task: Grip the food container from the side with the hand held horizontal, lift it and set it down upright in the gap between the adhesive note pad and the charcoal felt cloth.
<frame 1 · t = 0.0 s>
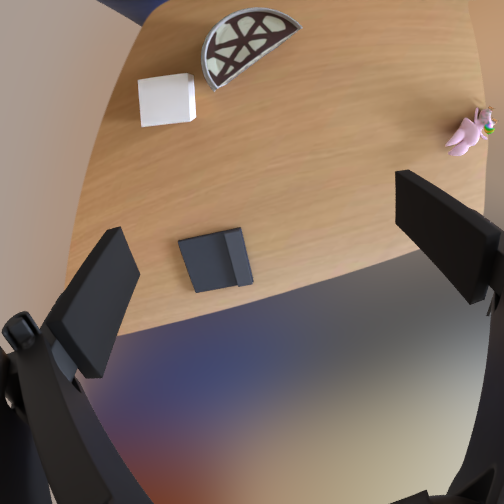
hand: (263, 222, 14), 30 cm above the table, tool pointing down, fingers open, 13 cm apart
food container: (238, 47, 34), on the table
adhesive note: (173, 98, 37), on the table
rabbit figure: (465, 127, 40), on the table
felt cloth: (216, 261, 50), on the table
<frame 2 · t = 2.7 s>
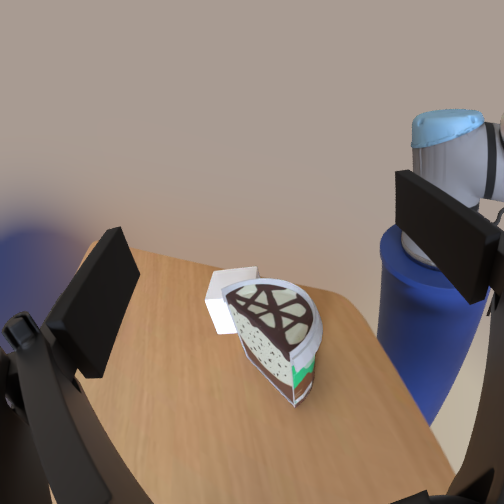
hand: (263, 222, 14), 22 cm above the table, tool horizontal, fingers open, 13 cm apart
food container: (291, 367, 33), on the table
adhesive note: (242, 317, 42), on the table
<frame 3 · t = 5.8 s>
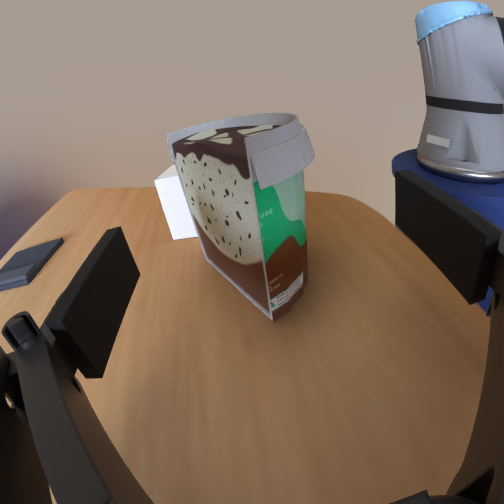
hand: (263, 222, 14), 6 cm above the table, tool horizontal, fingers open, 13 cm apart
food container: (271, 268, 22), on the table
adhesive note: (210, 223, 31), on the table
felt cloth: (22, 267, 32), on the table
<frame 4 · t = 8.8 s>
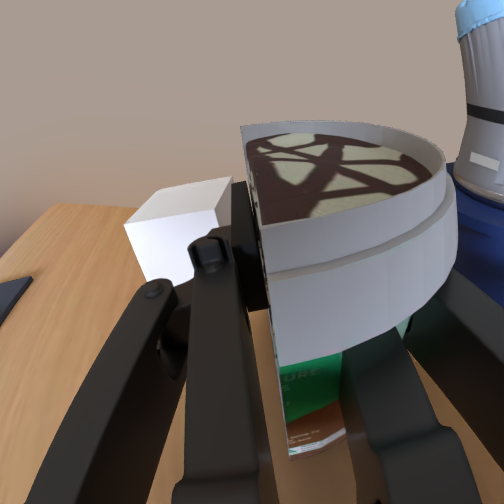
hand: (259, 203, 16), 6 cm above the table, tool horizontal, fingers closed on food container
food container: (340, 362, 14), on the table, touching gripper
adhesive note: (205, 274, 23), on the table
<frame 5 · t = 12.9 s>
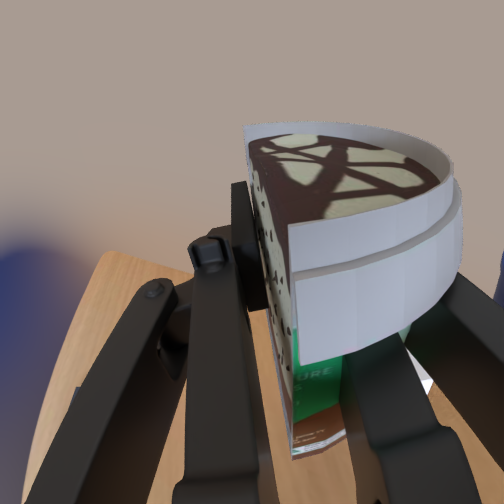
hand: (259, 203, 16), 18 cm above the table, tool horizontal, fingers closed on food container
food container: (339, 362, 14), point 12 cm above the table, touching gripper, hand
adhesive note: (377, 396, 23), on the table
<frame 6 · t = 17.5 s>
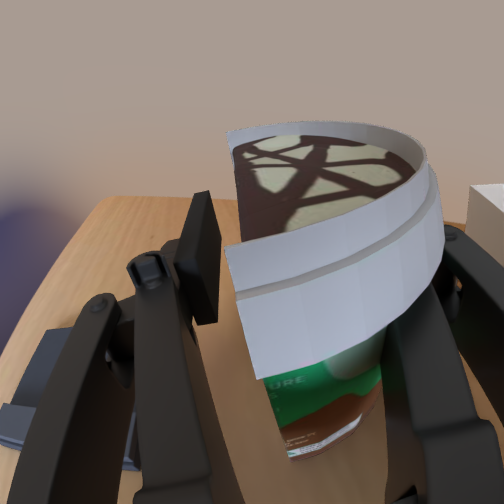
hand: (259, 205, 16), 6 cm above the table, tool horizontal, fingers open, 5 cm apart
food container: (339, 362, 14), on the table
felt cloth: (79, 387, 15), on the table
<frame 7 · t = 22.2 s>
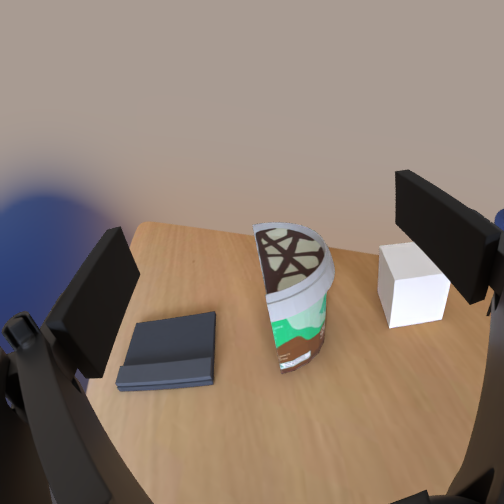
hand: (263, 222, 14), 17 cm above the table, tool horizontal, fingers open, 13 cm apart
food container: (305, 333, 30), on the table
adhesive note: (408, 306, 30), on the table
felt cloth: (169, 352, 31), on the table
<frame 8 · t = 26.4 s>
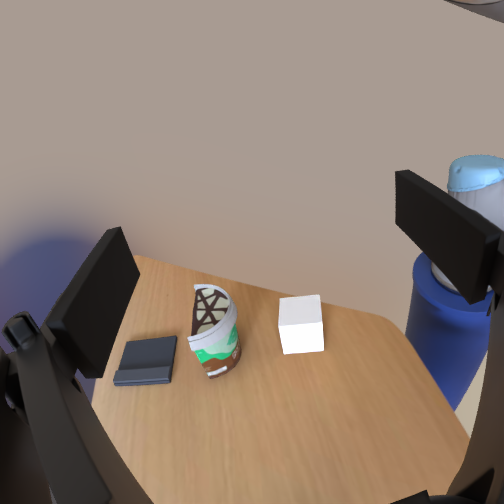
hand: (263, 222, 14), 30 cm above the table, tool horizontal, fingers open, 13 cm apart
food container: (229, 353, 47), on the table
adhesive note: (303, 338, 47), on the table
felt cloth: (146, 361, 48), on the table
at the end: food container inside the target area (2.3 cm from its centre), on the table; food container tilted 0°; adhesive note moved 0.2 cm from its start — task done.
